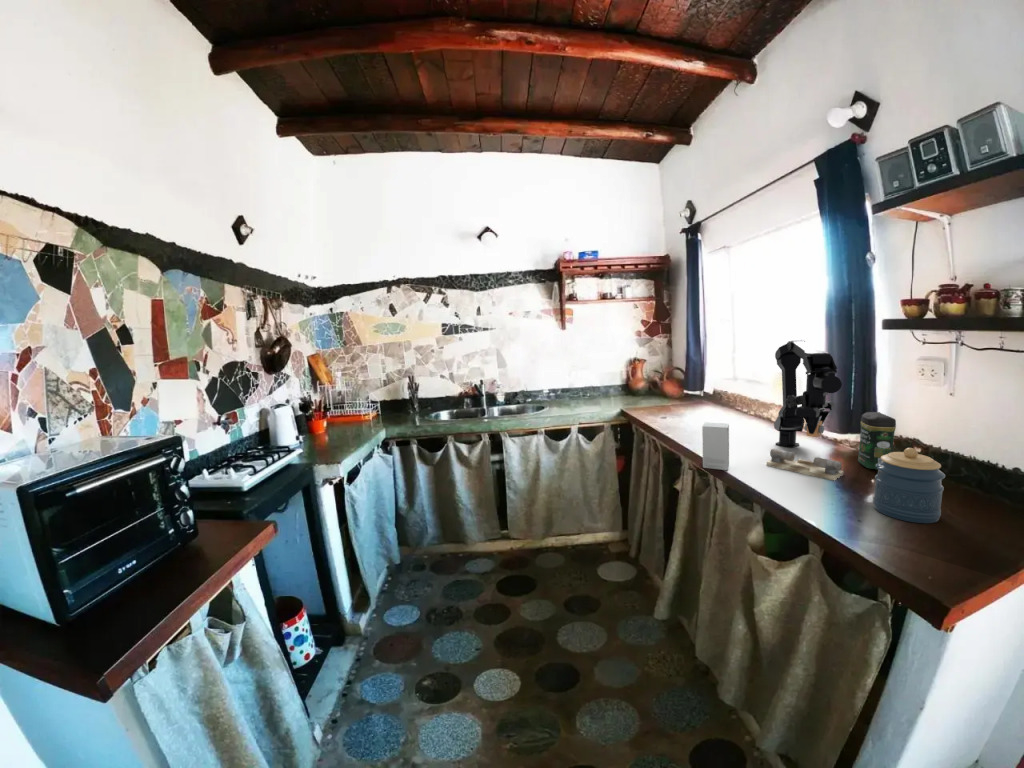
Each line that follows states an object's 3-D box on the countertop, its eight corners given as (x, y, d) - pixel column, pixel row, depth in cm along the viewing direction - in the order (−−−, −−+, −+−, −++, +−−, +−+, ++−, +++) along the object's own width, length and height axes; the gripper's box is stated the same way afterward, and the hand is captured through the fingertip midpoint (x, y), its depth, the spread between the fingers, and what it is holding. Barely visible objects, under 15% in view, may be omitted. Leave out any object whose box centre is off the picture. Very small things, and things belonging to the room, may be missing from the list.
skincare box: (729, 465, 149) (730, 423, 146) (727, 471, 143) (728, 427, 141) (703, 462, 153) (704, 421, 151) (701, 467, 148) (702, 425, 145)
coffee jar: (853, 460, 147) (857, 410, 145) (881, 462, 145) (885, 410, 142) (867, 470, 138) (871, 416, 136) (896, 472, 136) (901, 416, 133)
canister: (880, 519, 106) (886, 453, 104) (866, 499, 117) (871, 439, 115) (950, 528, 100) (958, 458, 98) (928, 506, 111) (934, 443, 109)
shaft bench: (766, 465, 147) (767, 451, 146) (776, 460, 152) (777, 446, 151) (834, 480, 131) (835, 465, 130) (843, 474, 136) (844, 459, 135)
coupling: (803, 435, 146) (803, 421, 146) (808, 432, 149) (808, 419, 148) (819, 437, 142) (820, 423, 141) (824, 435, 145) (825, 421, 144)
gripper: (800, 383, 155) (798, 424, 157) (779, 389, 144) (777, 433, 146) (836, 386, 146) (833, 429, 148) (816, 392, 135) (814, 439, 137)
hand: (813, 432), depth 145 cm, fingers closed on coupling, 5 cm apart
